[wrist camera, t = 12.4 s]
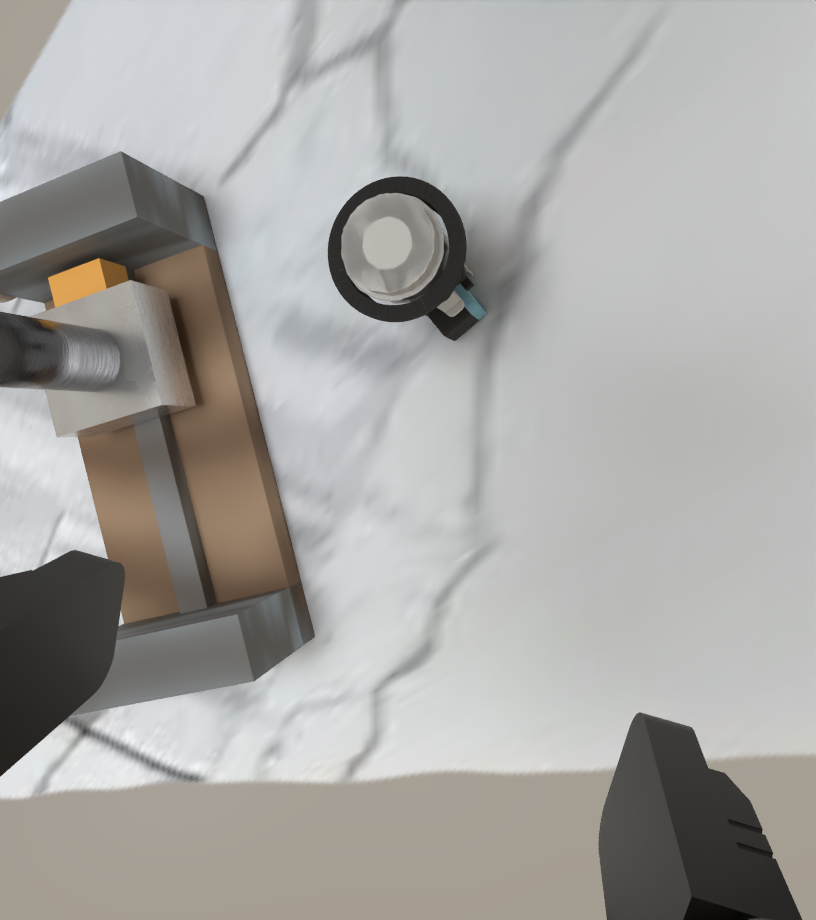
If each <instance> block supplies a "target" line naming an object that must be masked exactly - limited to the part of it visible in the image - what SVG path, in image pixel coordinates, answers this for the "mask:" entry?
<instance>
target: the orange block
mask: <svg viewBox="0 0 816 920" xmlns="http://www.w3.org/2000/svg"><path fill="white" fill-rule="evenodd" d="M48 280H49V284H50V288H51V292H52V296H53V300H54V304H55V307H58V306H61V305H64V304H66V303H69V302H72V301H75V300H77V299H80V298H83V297H86V296H88V295H91V294H94V293H97V292H99V291H102V290H105V289H108V288H110V287H113V286H116V285H118V284H121V283H124V282H127V281H129V280H128V276H127V272H126V268H125V266H122V265H119V264H116V263H113V262H110V261H106V260H103V259H100V258H98V259H96V260H93V261H90V262H88V263H85V264H82V265H80V266H77V267H74V268H72V269H69V270H66V271H64V272H61V273H59V274H56V275H53V276H51V277H48Z"/></svg>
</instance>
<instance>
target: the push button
mask: <svg viewBox="0 0 816 920" xmlns="http://www.w3.org/2000/svg"><path fill="white" fill-rule="evenodd" d="M433 211H435V212H436V213H438V214H439V215H440V216H441V217H442V219H443V221H444V223H445V226H446V229H447V232H448V237H449V244H448V242H447V240H446V237H445V235H444V233H443V230H442V228H441V225H440V223H439V221H438V219H437V216H436V214H435V213H434V212H433ZM465 258H466V236H465V230H464V226H463V223H462V221H461V218H460V216H459V214H458V212H457V210H456V209H455V207H454V206H453V204H452V203H451V202H450V200H449V199H448V198H447V197H446V196H445V195H444V194H443V193H442V192H441V191H440V190H438V189H437V188H436V187H434V186H433V185H431V184H429V183H427V182H425V181H422V180H419V179H416V178H411V177H390V178H384V179H381V180H378V181H375V182H373V183H371V184H369V185H367V186H365V187H363V188H362V189H361V190H359V191H358V192H357V193H355V194H354V195H353V196H352V197H351V198H350V199H349V200H348V201H347V202H346V204H345V205H344V206H343V207H342V209H341V210H340V212H339V214H338V215H337V217H336V219H335V221H334V224H333V227H332V230H331V233H330V237H329V243H328V262H329V268H330V273H331V276H332V279H333V281H334V283H335V286H336V287H337V289H338V291H339V292H340V294H341V295H342V297H343V298H344V299H345V300H346V301H347V302H348V303H349V304H350V305H351V306H352V307H353V308H355V309H356V310H358V311H359V312H361V313H363V314H364V315H366V316H369V317H371V318H374V319H377V320H381V321H386V322H404V321H409V320H413V319H416V318H419V317H421V316H424V315H426V316H428V317H429V318H430V319H431V320H432V322H433V323H434V324H435V325H436V327H437V328H438V329H439V330H440V332H441V333H442V334H443V335H444V336H445V337H447V338H449V339H451V340H453V341H455V340H457V339H458V338H459V337H460V336H461V335H462V334H463V333H465V332H466V331H467V330H468V329H469V328H470V327H472V326H473V325H474V324H475V323H476V322H477V321H479V320H480V319H481V318H482V317H483V316H484V315H486V314H487V311H486V310H485V309H484V308H483V306H482V305H481V304H480V303H478V301H477V300H476V299H475V298H474V296H473V295H472V294H471V293H470V291H469V289H470V288H472V287H473V286H474V284H473V283H472V282H471V280H470V279H469V278H468V277H467V276H466V272H469V273H470V274H471V275H472V276H473V273H472V272H471V271H470V270H469V268H468V267H467V266H466V265H465V264H464V263H465ZM368 295H369V296H371V297H373V298H375V299H378V300H389V301H391V302H393V303H406V304H402V305H383V304H379V303H376V302H375V301H374V300H372V299H371V298H370V297H369V296H368Z"/></svg>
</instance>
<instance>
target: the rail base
mask: <svg viewBox="0 0 816 920" xmlns="http://www.w3.org/2000/svg"><path fill="white" fill-rule="evenodd" d="M98 258H100V259H103V260H106V261H110V262H113V263H116V264H119V265H122V266H125V268H126V272H127V276H128V280H132V281H135V282H139V283H142V284H146V285H149V286H152V287H156V288H159V289H163V290H166V291H167V293H168V297H169V301H170V305H171V309H172V313H173V317H174V321H175V325H176V328H177V332H178V336H179V340H180V344H181V348H182V352H183V356H184V360H185V364H186V368H187V372H188V376H189V380H190V384H191V388H192V392H193V396H194V400H195V404H196V406H195V407H191V408H188V409H185V410H181V411H178V412H175V413H172V414H168V415H165V416H162V417H158V418H155V419H152V420H148V421H145V422H142V423H139V424H135V425H132V426H129V427H125V428H122V429H119V430H116V431H112V432H109V433H106V434H102V435H99V436H82V437H78V440H79V444H80V448H81V452H82V456H83V460H84V464H85V468H86V472H87V476H88V480H89V484H90V488H91V492H92V496H93V500H94V504H95V508H96V512H97V516H98V520H99V524H100V528H101V532H102V536H103V540H104V544H105V548H106V552H107V556H108V560H112V561H115V562H119V563H121V564H122V565H123V567H124V571H125V583H124V590H123V597H122V604H121V613H122V617H123V621H124V624H123V625H120V626H118V631H117V638H116V645H115V652H114V657H113V661H112V664H111V667H110V670H109V672H108V674H107V676H106V678H105V680H104V682H103V684H102V685H101V687H100V688H99V689H98V690H97V692H96V693H95V694H94V695H93V696H92V697H91V698H89V699H88V700H87V701H86V702H85V703H84V704H83V705H81V706H80V707H79V708H78V709H77V710H76V711H75V712H73V713H72V714H71V715H77V714H82V713H87V712H93V711H98V710H103V709H109V708H114V707H119V706H125V705H130V704H135V703H141V702H146V701H151V700H157V699H162V698H167V697H173V696H178V695H183V694H189V693H194V692H199V691H205V690H210V689H215V688H221V687H226V686H231V685H237V684H242V683H247V682H253V681H255V680H256V679H258V678H259V677H261V676H262V675H263V674H265V673H266V672H267V671H269V670H270V669H271V668H273V667H274V666H275V665H277V664H278V663H280V662H281V661H282V660H284V659H285V658H286V657H288V656H289V655H290V654H292V653H293V652H295V651H296V650H297V649H299V648H300V647H301V646H303V645H304V644H305V643H307V642H308V641H310V640H311V639H312V638H314V637H315V636H314V632H313V628H312V624H311V620H310V616H309V612H308V608H307V604H306V600H305V596H304V592H303V588H302V584H301V580H300V576H299V572H298V569H297V565H296V561H295V557H294V553H293V549H292V545H291V541H290V537H289V533H288V529H287V525H286V521H285V517H284V513H283V509H282V505H281V501H280V497H279V493H278V489H277V485H276V481H275V477H274V474H273V470H272V466H271V462H270V458H269V454H268V450H267V446H266V442H265V438H264V434H263V430H262V426H261V422H260V418H259V414H258V410H257V406H256V402H255V398H254V394H253V390H252V386H251V383H250V379H249V375H248V371H247V367H246V363H245V359H244V355H243V351H242V347H241V343H240V339H239V335H238V331H237V327H236V323H235V319H234V315H233V311H232V307H231V303H230V299H229V295H228V292H227V288H226V284H225V280H224V276H223V272H222V268H221V264H220V260H219V256H218V252H217V248H216V244H215V240H214V236H213V232H212V228H211V224H210V220H209V216H208V212H207V208H206V204H205V200H204V197H203V196H202V195H200V194H198V193H196V192H194V191H193V190H191V189H189V188H187V187H185V186H183V185H182V184H180V183H178V182H176V181H174V180H172V179H171V178H169V177H167V176H165V175H163V174H161V173H160V172H158V171H156V170H154V169H152V168H151V167H149V166H147V165H145V164H143V163H141V162H140V161H138V160H136V159H134V158H132V157H130V156H129V155H127V154H125V153H123V152H121V151H120V152H118V153H116V154H113V155H111V156H108V157H106V158H104V159H101V160H99V161H97V162H94V163H92V164H89V165H87V166H85V167H82V168H80V169H77V170H75V171H73V172H70V173H68V174H66V175H63V176H61V177H58V178H56V179H54V180H51V181H49V182H47V183H44V184H42V185H39V186H37V187H35V188H32V189H30V190H27V191H25V192H23V193H20V194H18V195H16V196H13V197H11V198H8V199H6V200H4V201H1V202H0V303H3V302H7V301H10V300H13V299H15V298H16V297H18V298H22V299H27V300H32V301H37V302H42V303H45V307H46V311H47V310H50V309H53V308H55V304H54V300H53V296H52V292H51V288H50V284H49V280H48V277H51V276H53V275H56V274H59V273H61V272H64V271H66V270H69V269H72V268H74V267H77V266H80V265H82V264H85V263H88V262H90V261H93V260H96V259H98ZM71 715H70V716H71Z"/></svg>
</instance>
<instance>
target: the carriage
mask: <svg viewBox="0 0 816 920" xmlns="http://www.w3.org/2000/svg"><path fill="white" fill-rule="evenodd" d="M0 387H8V388H27V389H45V391H46V396H47V400H48V404H49V408H50V412H51V416H52V420H53V424H54V428H55V432H56V436H57V437H82V436H99V435H102V434H106V433H109V432H112V431H116V430H119V429H122V428H125V427H129V426H132V425H135V424H139V423H142V422H145V421H148V420H152V419H155V418H158V417H162V416H165V415H168V414H172V413H175V412H178V411H181V410H185V409H188V408H191V407H195V406H196V404H195V400H194V396H193V392H192V388H191V384H190V380H189V376H188V372H187V368H186V364H185V360H184V356H183V352H182V348H181V344H180V340H179V336H178V332H177V328H176V325H175V321H174V317H173V313H172V309H171V305H170V301H169V297H168V293H167V291H166V290H163V289H159V288H156V287H152V286H149V285H146V284H142V283H139V282H135V281H132V280H129V281H127V282H124V283H121V284H118V285H116V286H113V287H110V288H108V289H105V290H102V291H99V292H97V293H94V294H91V295H88V296H86V297H83V298H80V299H77V300H75V301H72V302H69V303H66V304H64V305H61V306H58V307H55V308H53V309H50V310H47V311H44V312H42V313H39V314H36V315H33V316H31V317H27V316H21V315H15V314H10V313H4V312H0Z"/></svg>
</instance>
